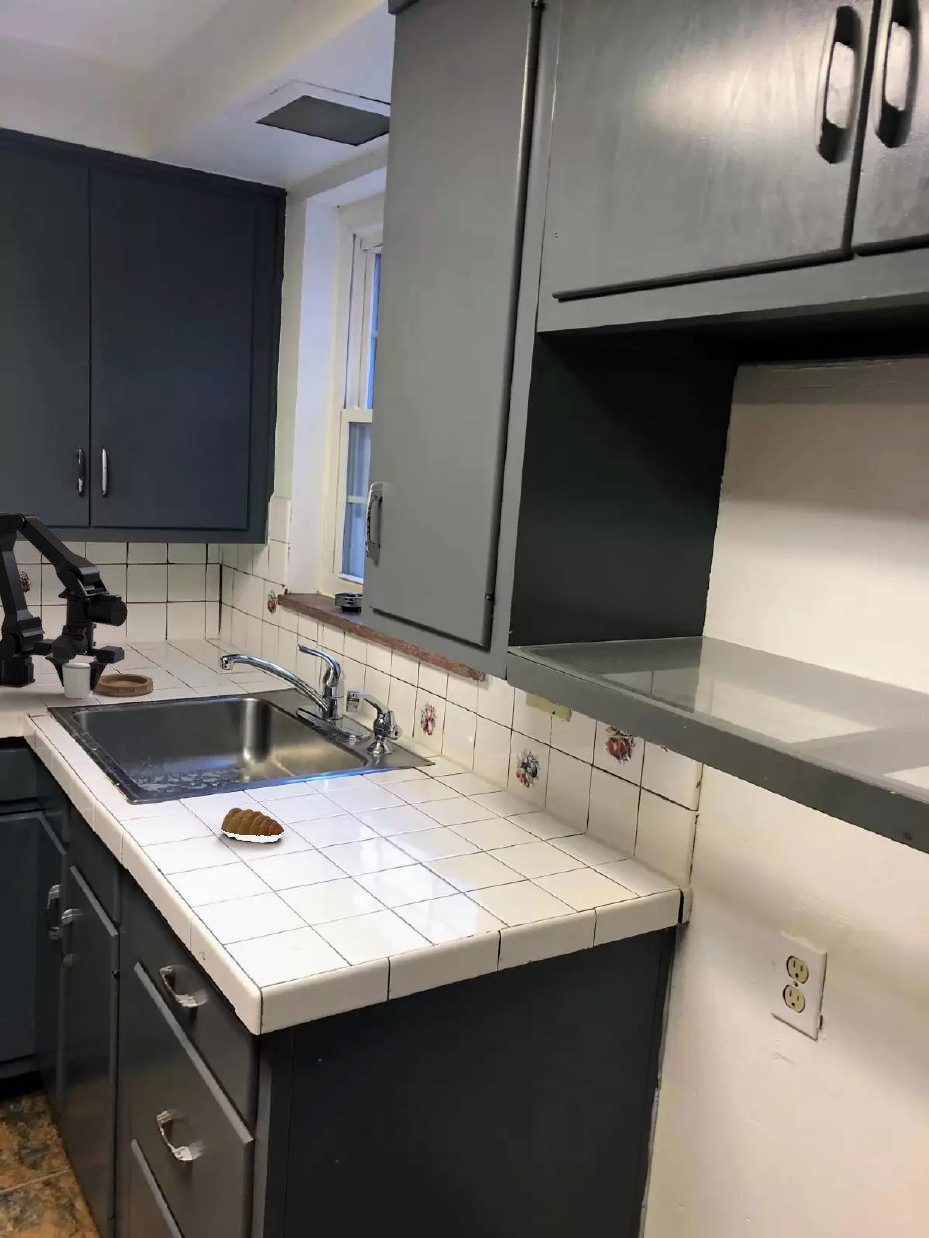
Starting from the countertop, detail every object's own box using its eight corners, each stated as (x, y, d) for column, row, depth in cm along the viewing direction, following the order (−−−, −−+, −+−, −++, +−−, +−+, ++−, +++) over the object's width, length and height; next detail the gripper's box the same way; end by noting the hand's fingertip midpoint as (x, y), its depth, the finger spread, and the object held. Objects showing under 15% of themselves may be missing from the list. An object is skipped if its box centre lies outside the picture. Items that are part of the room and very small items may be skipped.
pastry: (291, 834, 154) (292, 811, 153) (271, 850, 148) (272, 826, 147) (237, 823, 157) (239, 801, 156) (215, 838, 150) (216, 815, 150)
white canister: (100, 693, 222) (100, 663, 221) (85, 700, 215) (86, 669, 214) (71, 689, 223) (71, 660, 222) (55, 697, 216) (56, 666, 215)
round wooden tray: (83, 692, 222) (83, 683, 221) (110, 680, 234) (110, 671, 234) (138, 699, 220) (138, 689, 220) (162, 686, 233) (163, 677, 233)
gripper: (19, 621, 209) (18, 692, 212) (103, 631, 207) (100, 702, 210) (47, 613, 220) (46, 680, 223) (126, 622, 218) (124, 690, 221)
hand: (78, 688), depth 219 cm, fingers closed on white canister, 6 cm apart
